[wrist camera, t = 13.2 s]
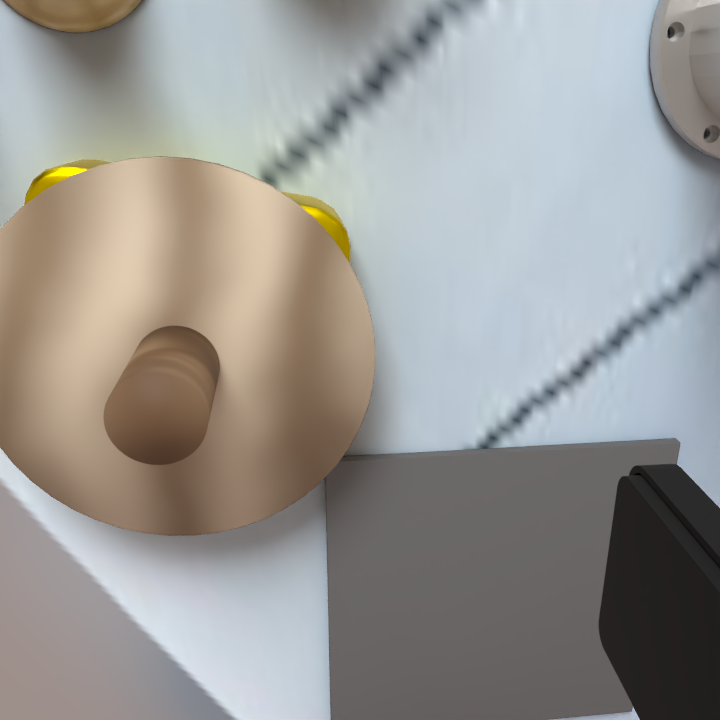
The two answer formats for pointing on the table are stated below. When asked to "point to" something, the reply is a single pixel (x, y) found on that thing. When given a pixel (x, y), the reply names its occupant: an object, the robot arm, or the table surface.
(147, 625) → the table surface
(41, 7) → the hand bell
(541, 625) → the mat
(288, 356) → the lid
